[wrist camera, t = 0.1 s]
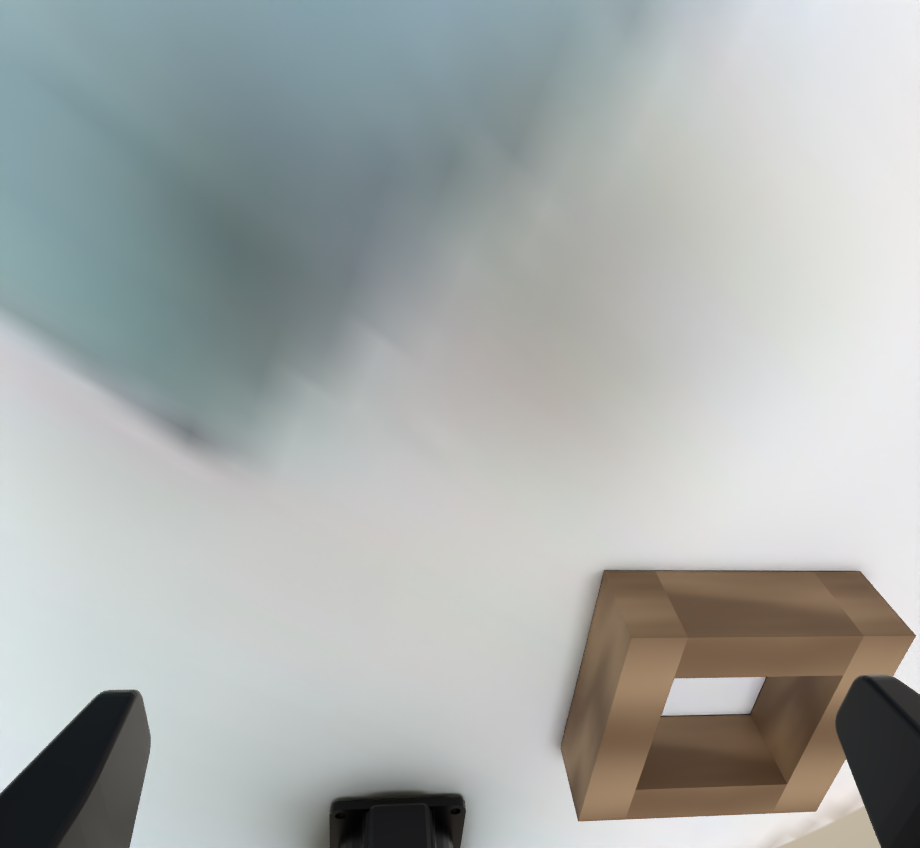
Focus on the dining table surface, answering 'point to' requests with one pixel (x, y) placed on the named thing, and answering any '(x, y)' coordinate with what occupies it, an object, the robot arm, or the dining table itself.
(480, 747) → the dining table surface
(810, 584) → the socket block
